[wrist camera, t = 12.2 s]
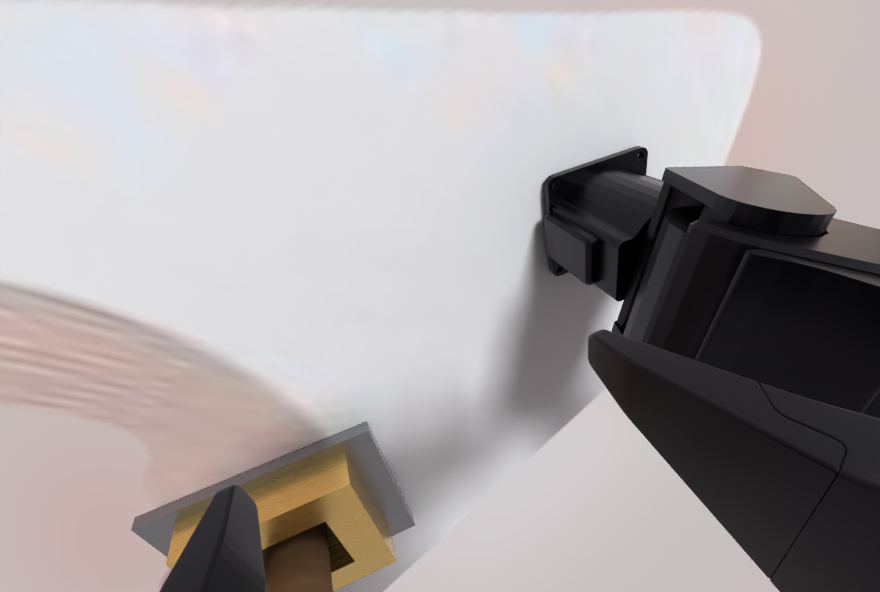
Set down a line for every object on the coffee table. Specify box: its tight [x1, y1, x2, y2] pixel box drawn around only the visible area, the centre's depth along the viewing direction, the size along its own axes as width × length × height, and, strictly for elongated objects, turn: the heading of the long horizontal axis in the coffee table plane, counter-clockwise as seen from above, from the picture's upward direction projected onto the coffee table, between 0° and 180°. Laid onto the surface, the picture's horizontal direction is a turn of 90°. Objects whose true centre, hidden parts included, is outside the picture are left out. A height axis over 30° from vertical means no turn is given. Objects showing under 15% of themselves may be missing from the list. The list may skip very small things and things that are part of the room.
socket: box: [131, 422, 415, 592], centre depth 29 cm, size 15×13×3 cm
